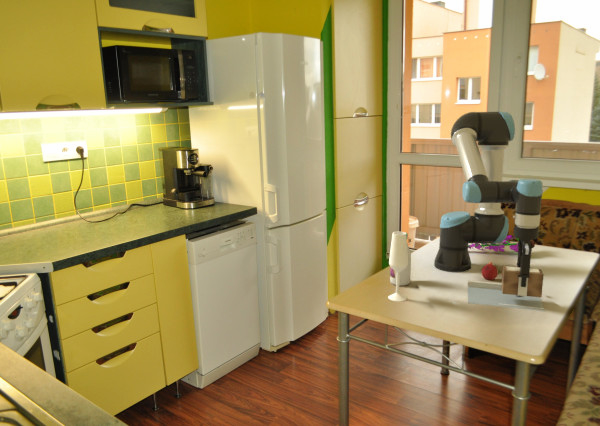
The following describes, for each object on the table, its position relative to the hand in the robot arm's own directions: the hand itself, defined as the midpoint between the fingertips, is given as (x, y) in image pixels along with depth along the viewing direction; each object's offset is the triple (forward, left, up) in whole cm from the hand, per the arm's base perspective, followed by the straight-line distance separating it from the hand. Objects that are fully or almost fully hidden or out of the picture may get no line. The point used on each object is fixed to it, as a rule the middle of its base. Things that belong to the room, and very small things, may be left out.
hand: (521, 291), depth 169 cm
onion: (-9, +22, -5) cm, 24 cm away
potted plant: (-6, +62, -5) cm, 63 cm away
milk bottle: (-42, +11, -5) cm, 44 cm away
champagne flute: (-41, -5, -5) cm, 42 cm away
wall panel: (-5, +3, -5) cm, 8 cm away
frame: (0, 0, 0) cm, 0 cm away
